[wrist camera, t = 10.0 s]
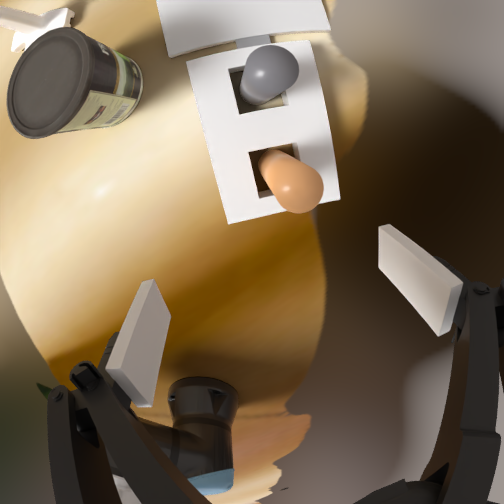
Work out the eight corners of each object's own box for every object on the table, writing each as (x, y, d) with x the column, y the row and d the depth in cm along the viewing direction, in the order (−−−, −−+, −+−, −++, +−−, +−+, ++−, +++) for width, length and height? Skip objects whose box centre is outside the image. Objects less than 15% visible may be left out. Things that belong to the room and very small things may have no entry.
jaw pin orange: (292, 177, 33) (326, 207, 22) (262, 183, 34) (280, 218, 22) (286, 146, 32) (319, 160, 20) (255, 153, 32) (270, 170, 20)
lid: (332, 45, 26) (335, 43, 25) (173, 71, 26) (172, 70, 25) (300, -43, 18) (302, -46, 17) (153, -20, 19) (151, -23, 18)
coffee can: (95, 47, 23) (34, 23, 10) (158, 66, 26) (113, 35, 13) (64, 116, 26) (-6, 124, 14) (121, 139, 29) (61, 154, 17)
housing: (331, 193, 35) (340, 199, 32) (228, 216, 35) (228, 224, 32) (302, 46, 26) (309, 40, 23) (189, 66, 26) (185, 61, 23)
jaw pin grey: (276, 101, 29) (304, 88, 17) (243, 108, 29) (252, 96, 17) (268, 72, 27) (292, 42, 16) (236, 78, 27) (240, 49, 16)
